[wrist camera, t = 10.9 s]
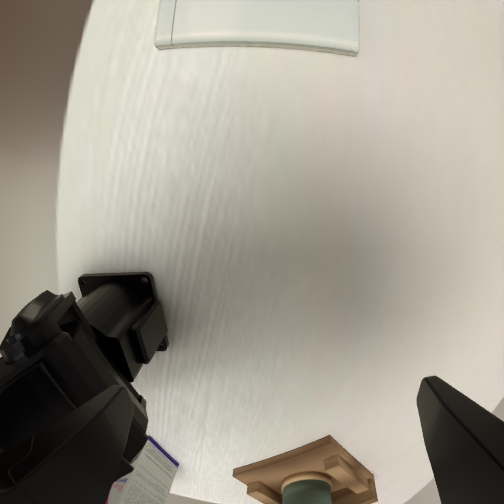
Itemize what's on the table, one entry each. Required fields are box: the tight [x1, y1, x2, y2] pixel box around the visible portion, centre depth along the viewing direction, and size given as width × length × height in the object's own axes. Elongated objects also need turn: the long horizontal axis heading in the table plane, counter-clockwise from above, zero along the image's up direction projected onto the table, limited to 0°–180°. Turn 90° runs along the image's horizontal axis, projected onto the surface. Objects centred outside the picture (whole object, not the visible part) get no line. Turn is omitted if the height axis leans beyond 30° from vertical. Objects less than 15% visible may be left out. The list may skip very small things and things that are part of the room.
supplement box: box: [106, 437, 179, 504], centre depth 24 cm, size 6×6×12 cm
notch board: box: [233, 435, 378, 504], centre depth 27 cm, size 11×12×4 cm
